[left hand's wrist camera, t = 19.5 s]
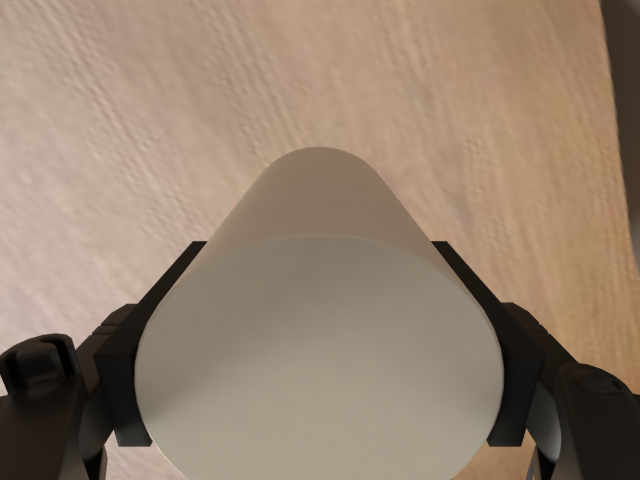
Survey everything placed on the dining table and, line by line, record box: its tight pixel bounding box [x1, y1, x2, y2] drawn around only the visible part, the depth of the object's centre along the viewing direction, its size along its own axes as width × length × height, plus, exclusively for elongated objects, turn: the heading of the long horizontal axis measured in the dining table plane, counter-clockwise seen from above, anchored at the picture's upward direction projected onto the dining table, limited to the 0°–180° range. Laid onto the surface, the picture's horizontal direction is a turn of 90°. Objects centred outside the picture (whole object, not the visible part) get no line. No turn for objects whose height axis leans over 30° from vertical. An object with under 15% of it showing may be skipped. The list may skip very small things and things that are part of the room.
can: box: [134, 147, 504, 480], centre depth 14 cm, size 8×8×13 cm
